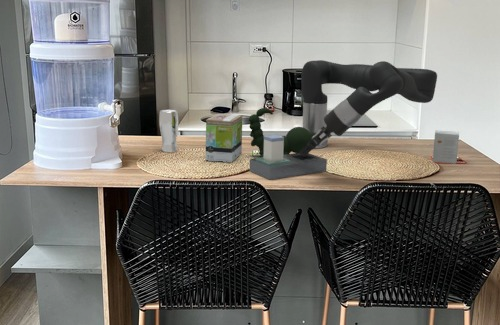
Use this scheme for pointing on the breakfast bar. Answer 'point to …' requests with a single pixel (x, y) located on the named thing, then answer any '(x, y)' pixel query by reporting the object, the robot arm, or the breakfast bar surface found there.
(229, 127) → the tea box
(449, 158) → the small box
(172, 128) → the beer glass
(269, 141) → the plug
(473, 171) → the breakfast bar surface
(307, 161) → the panel
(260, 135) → the toy figurine
